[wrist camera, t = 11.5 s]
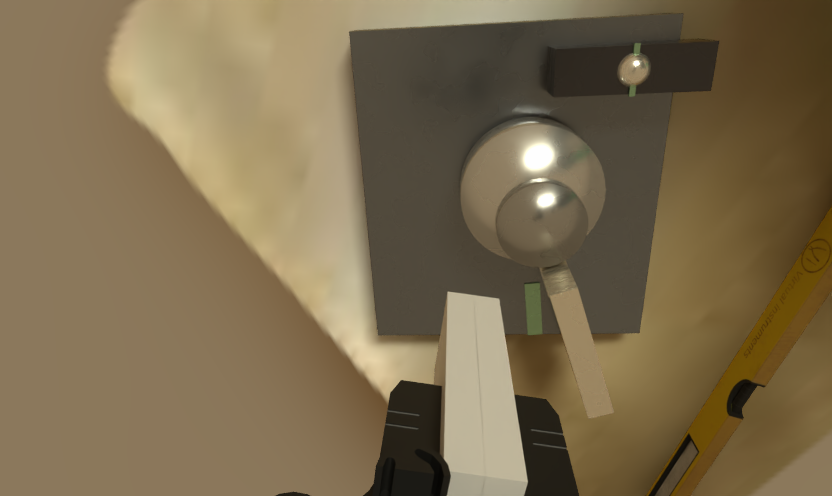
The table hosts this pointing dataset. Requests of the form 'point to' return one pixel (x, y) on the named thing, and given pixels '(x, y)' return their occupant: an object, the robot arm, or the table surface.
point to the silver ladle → (541, 222)
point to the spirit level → (752, 365)
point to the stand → (490, 106)
